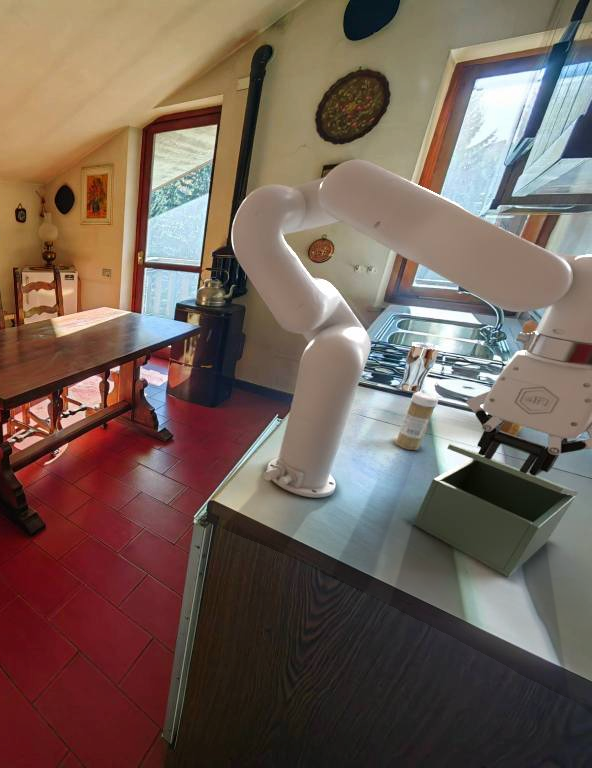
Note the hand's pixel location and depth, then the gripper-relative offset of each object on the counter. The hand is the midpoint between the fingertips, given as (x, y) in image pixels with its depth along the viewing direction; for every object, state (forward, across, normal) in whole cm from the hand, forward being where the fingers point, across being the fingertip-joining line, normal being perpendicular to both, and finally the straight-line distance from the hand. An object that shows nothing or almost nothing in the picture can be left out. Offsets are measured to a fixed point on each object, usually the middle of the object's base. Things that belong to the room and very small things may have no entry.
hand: (509, 461), depth 60 cm
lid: (+3, 0, +4) cm, 5 cm away
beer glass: (+16, -40, +66) cm, 79 cm away
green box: (+16, 0, +4) cm, 16 cm away
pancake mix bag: (+16, -16, +60) cm, 64 cm away
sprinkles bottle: (+16, -21, +26) cm, 37 cm away
